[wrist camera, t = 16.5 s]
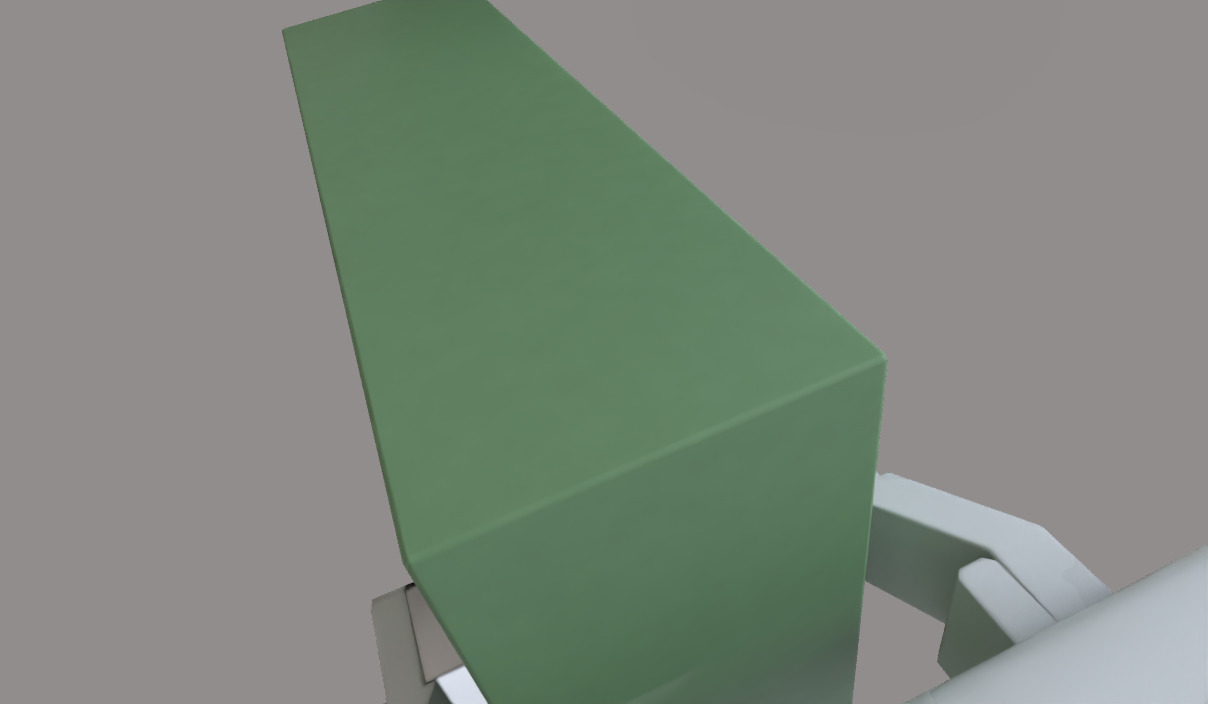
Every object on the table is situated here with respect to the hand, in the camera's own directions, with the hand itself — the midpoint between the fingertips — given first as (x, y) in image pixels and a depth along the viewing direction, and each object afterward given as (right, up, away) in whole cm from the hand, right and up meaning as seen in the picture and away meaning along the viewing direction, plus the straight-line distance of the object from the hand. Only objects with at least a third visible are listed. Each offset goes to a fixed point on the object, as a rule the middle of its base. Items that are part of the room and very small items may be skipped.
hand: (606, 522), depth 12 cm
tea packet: (-2, +3, +3) cm, 5 cm away
